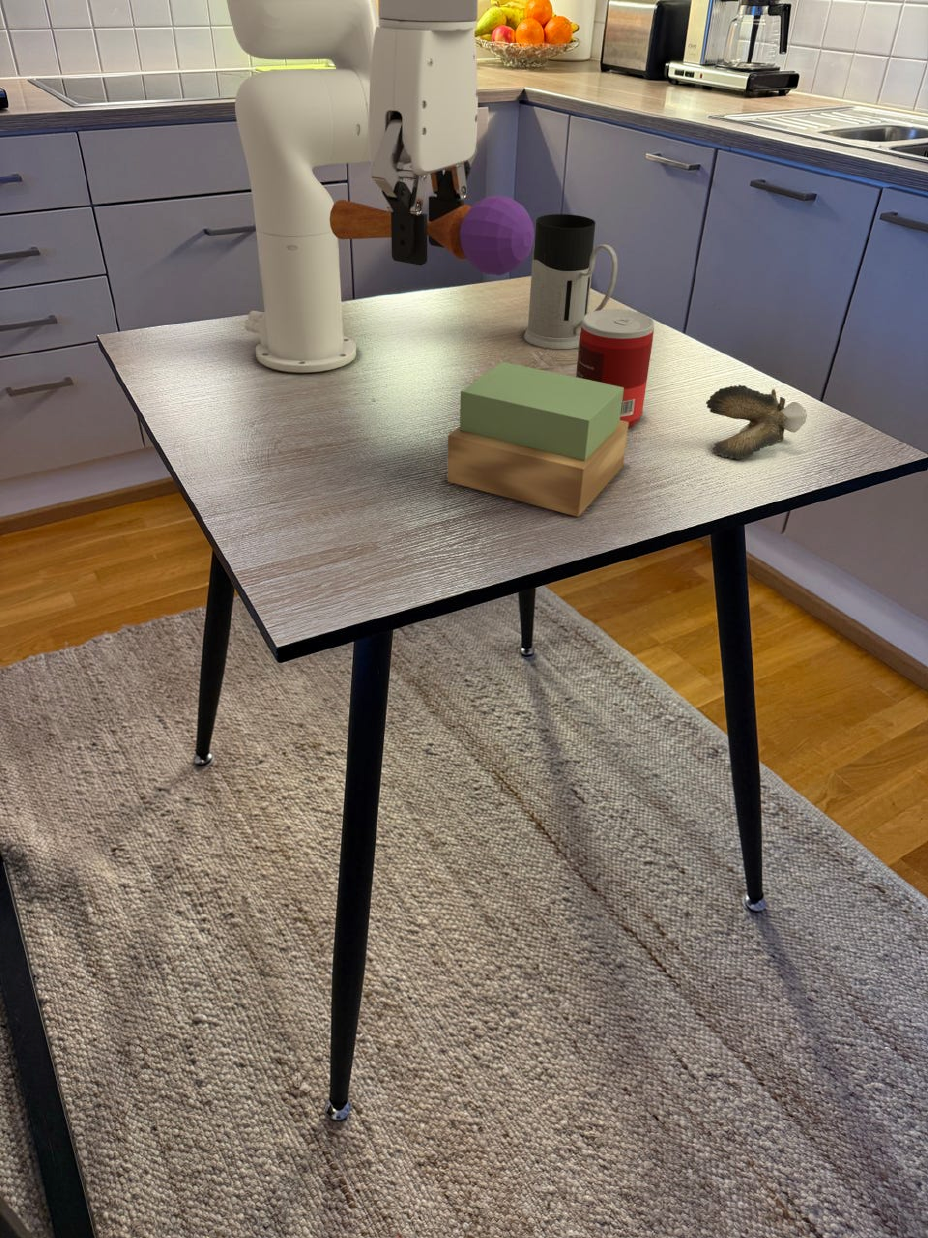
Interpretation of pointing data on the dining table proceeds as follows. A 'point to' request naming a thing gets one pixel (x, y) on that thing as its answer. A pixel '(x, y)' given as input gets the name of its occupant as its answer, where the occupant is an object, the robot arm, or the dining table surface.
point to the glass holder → (562, 279)
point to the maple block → (534, 470)
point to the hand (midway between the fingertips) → (427, 252)
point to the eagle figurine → (754, 419)
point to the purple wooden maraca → (454, 230)
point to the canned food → (617, 355)
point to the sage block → (541, 410)
